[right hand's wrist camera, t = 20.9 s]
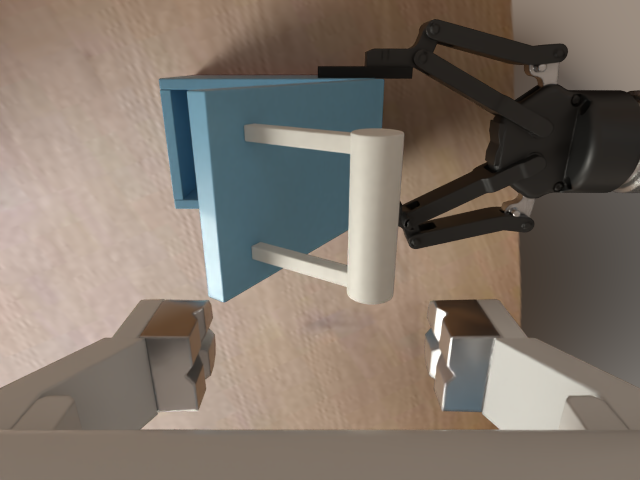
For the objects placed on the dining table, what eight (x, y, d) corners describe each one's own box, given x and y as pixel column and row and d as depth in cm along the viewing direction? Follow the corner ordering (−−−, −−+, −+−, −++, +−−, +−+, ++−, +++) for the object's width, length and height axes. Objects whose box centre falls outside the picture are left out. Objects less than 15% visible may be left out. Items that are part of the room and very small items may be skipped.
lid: (207, 297, 21) (362, 356, 17) (185, 90, 17) (373, 98, 13) (365, 210, 33) (477, 232, 29) (370, 78, 30) (498, 81, 25)
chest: (204, 179, 42) (174, 209, 33) (194, 74, 38) (158, 78, 30) (361, 179, 42) (370, 209, 33) (364, 74, 38) (376, 78, 30)
